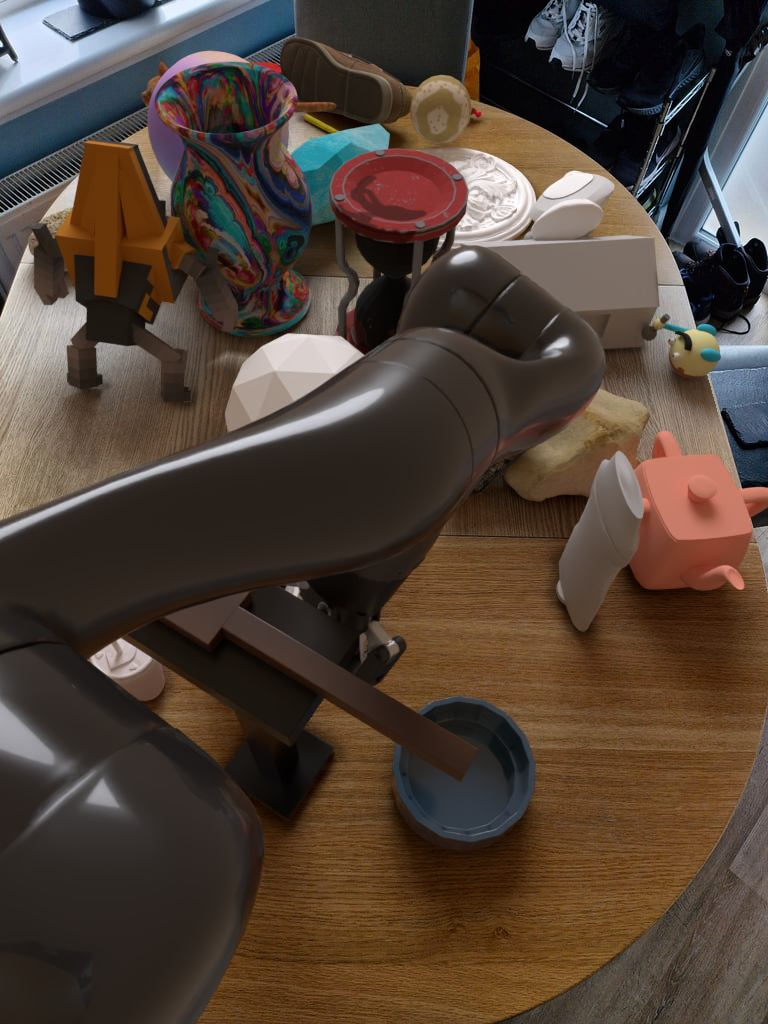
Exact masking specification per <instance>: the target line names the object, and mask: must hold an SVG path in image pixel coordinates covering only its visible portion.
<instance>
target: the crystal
mask: <svg viewBox="0 0 768 1024" xmlns="http://www.w3.org/2000/svg"><path fill="white" fill-rule="evenodd" d="M390 136H391V135H390V132H389V131H387V130H386V129H385V128H384V127H383V126H382V125H381V123H376V124H369V125H365V126H359V127H354V128H348V129H343V130H339V132H336V133H332V134H331V133H328V134H325V135H320V136H316V137H313V138H310V139H307V140H306V141H305V142H303V143H302V144H301V145H299V146H298V147H297V148H295V149H294V150H293V151H292V152H291V153H290V155H291V156H292V158H293V159H294V160H295V162H296V163H297V165H298V166H299V167H300V169H301V170H302V172H303V173H304V175H305V177H306V180H307V184H308V188H309V192H310V196H311V200H312V225H311V227H315V226H320V225H323V224H327V223H331V222H335V214H334V213H333V211H332V207H331V202H330V195H329V186H330V183H331V180H332V177H333V174H334V173H335V172H336V171H337V170H338V169H339V168H340V167H341V166H342V165H343V164H344V163H345V162H347V161H349V160H351V159H352V158H354V157H356V156H358V155H360V154H364V153H368V152H372V151H375V150H382V149H389V145H390Z"/></svg>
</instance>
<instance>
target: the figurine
mask: <svg viewBox="0 0 768 1024" xmlns="http://www.w3.org/2000/svg"><path fill="white" fill-rule="evenodd" d="M670 320H671V315H669V314H668V313H665V314H663V315H662V316H661V317H658V318H656V319H654V321H653V324H652V325H650V326H647V327H645V328H644V329H643V330H642V333H641V335H642V338H643V339H644V340H645V341H646V342H651V341H653V340H655V339H656V338H657V335H658V331H660V330H663V329H664V330H667V331H671V332H674V334H675V335H677V336H676V337H670V338H668V340H667V343H668V345H670V346H669V350H668V362H669V365H670V368H671V369H672V370H673V371H674V372H675V373H676V374H677V375H679V376H680V377H683V378H686V379H699V378H703V377H705V376H706V375H708V374H710V373H711V372H712V371H713V370H714V369H715V368H716V366H717V364H718V362H719V361H720V360H721V359H722V355H721V348H720V344H719V342H718V340H717V339H716V337H715V336H716V335H717V329H716V328H715V327H714V326H713V325H711V324H708V323H702V324H699V325H697V327H696V328H695V329H694V328H693V329H688V328H685V327H682V326H678V325H676V324H673V323H669V322H668V321H670ZM644 340H643V341H644Z"/></svg>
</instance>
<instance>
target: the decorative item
mask: <svg viewBox="0 0 768 1024" xmlns="http://www.w3.org/2000/svg"><path fill="white" fill-rule="evenodd" d="M72 209H73V206H69V207H67V208H65V209H63V210H60V211H58V212H54V213H52V214H50V215H48V216H45V217H43V218H42V219H41V220H39V222H38V223H46V225H47V227H48V229H49V231H50V233H51V235H52V237H53V238H55V234H56V233H55V232H57V231H58V229H59V228H60V227H61V225H62V224H63V222H64V221H65V219H66V218H67V216H68V215H69V214H70V212H71V211H72ZM38 244H39V243H38V241H37V239H36V237H35V235H34V233H33V231H32V230H31V233H30V235H29V237H28V242H27V245H28V246H27V247H28V250H29V253H30V254H31V256H33V257H34V248H35V247H36V246H37V245H38ZM64 272H67V273H68V270H67V268H66V265H65V268H64Z"/></svg>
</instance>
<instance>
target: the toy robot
mask: <svg viewBox="0 0 768 1024" xmlns="http://www.w3.org/2000/svg"><path fill="white" fill-rule="evenodd" d="M83 147H84V148H83V152H82V157H81V163H80V168H79V174H78V179H77V184H76V188H75V189H76V190H75V194H74V199H73V205H72V207H73V209H72V211H71V212H70V214H69V215H68V216H67V218H66V219H65V221H64V222H63V224H62V225H61V227H60V228H59V229H58V231H57V232H55V233H56V234H55V238H53V237H52V235H51V233H50V231H49V229H48V227H47V225H46V223H39V222H37V223H35V224H34V225H33V226H32V227H31V228H30V230H31V232H32V231H33V233H34V235H35V237H36V239H37V241H38V243H39V244H38V245H37V246H36V247H35V248H34V256H33V288H34V291H35V292H36V294H37V295H38V297H39V298H40V300H41V302H42V304H43V305H44V306H53V305H54V304H55V303H56V302H57V301H58V299H65V298H66V297H67V296H68V295H69V294H70V292H69V288H68V285H67V282H66V279H65V271H64V268H65V265H66V268H67V270H68V272H67V273H68V275H69V278H70V281H71V284H72V286H73V289H74V290H75V291H74V292H75V296H74V297H75V298H74V299H75V302H77V304H80V305H81V306H82V307H84V308H85V309H86V317H85V318H86V320H85V322H84V324H83V325H82V326H81V327H80V328H79V329H78V330H77V332H75V334H74V335H73V336H72V337H71V338H70V342H71V344H68V345H66V362H67V372H66V380H67V382H66V383H68V386H71V387H73V388H76V389H78V390H86V389H87V390H88V389H92V388H98V387H100V386H101V385H104V375H103V374H102V373H98V359H97V357H98V355H97V347H96V346H97V345H98V344H99V343H103V344H109V345H115V346H123V347H134V346H138V347H140V348H141V349H143V350H144V351H146V353H149V355H150V354H151V356H153V357H154V358H156V359H158V360H159V361H160V398H161V401H162V403H169V404H170V403H178V404H179V403H181V404H182V403H189V402H192V391H191V390H190V387H189V386H187V385H185V373H186V372H185V371H187V366H188V358H189V350H188V349H183V348H177V347H175V348H174V347H173V346H171V345H170V344H169V343H167V342H165V341H164V340H163V339H161V338H160V337H158V336H157V335H156V334H154V333H152V332H151V331H150V330H148V328H146V326H147V325H146V324H149V325H151V326H153V325H154V323H155V321H156V319H157V316H158V314H159V311H160V309H161V307H162V304H163V303H165V304H166V303H167V304H174V305H175V304H176V302H177V300H178V299H179V296H180V294H181V292H182V290H183V288H184V286H185V284H186V282H187V279H188V278H189V277H191V279H192V280H193V282H194V283H195V285H196V287H197V289H198V292H199V293H201V294H202V296H203V298H204V300H205V302H206V303H207V305H208V307H209V309H210V311H211V313H212V314H213V316H214V318H215V320H216V321H224V323H223V329H222V331H221V332H223V331H226V332H230V333H232V332H233V328H234V327H237V322H238V304H237V302H236V300H235V298H234V296H233V294H232V292H231V290H230V288H229V286H228V284H227V283H226V281H225V279H224V277H223V275H222V273H221V271H220V269H219V267H218V265H217V262H218V251H219V249H218V248H213V247H209V246H208V248H207V251H206V259H205V262H203V261H202V260H200V259H199V258H198V257H196V256H195V255H194V254H195V252H196V251H197V250H196V249H194V248H193V247H192V246H190V245H189V244H187V243H186V242H185V240H184V235H183V230H182V225H181V220H180V217H173V216H171V215H167V214H166V211H167V200H165V199H160V198H159V196H158V194H157V191H156V189H155V186H154V184H153V181H152V178H151V175H150V173H149V171H148V168H147V166H146V163H145V160H144V157H143V156H142V155H143V154H142V153H141V150H140V148H139V147H140V146H139V144H137V143H129V142H123V141H115V140H107V139H100V138H93V139H90V140H86V141H84V142H83ZM226 332H225V333H226Z"/></svg>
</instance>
